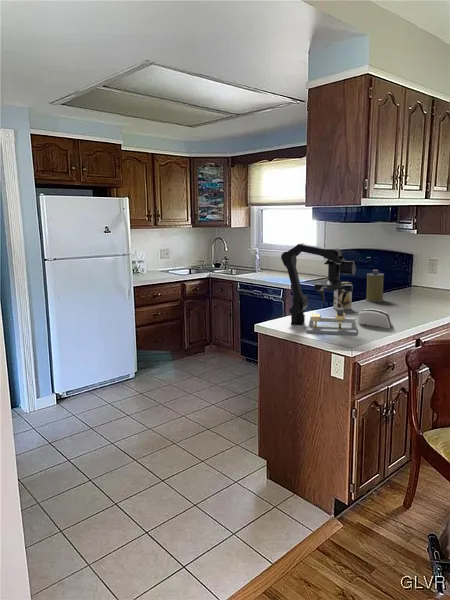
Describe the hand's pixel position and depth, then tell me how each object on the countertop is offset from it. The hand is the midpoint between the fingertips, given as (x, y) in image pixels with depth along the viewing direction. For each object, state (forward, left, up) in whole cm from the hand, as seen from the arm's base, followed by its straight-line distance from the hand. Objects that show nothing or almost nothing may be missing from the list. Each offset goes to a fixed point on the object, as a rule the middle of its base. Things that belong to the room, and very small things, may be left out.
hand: (332, 303), depth 231 cm
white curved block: (+21, +8, -13) cm, 26 cm away
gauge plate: (0, -6, -13) cm, 14 cm away
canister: (+22, +72, -13) cm, 77 cm away
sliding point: (+4, -5, -11) cm, 12 cm away
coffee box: (+3, +45, -13) cm, 47 cm away
